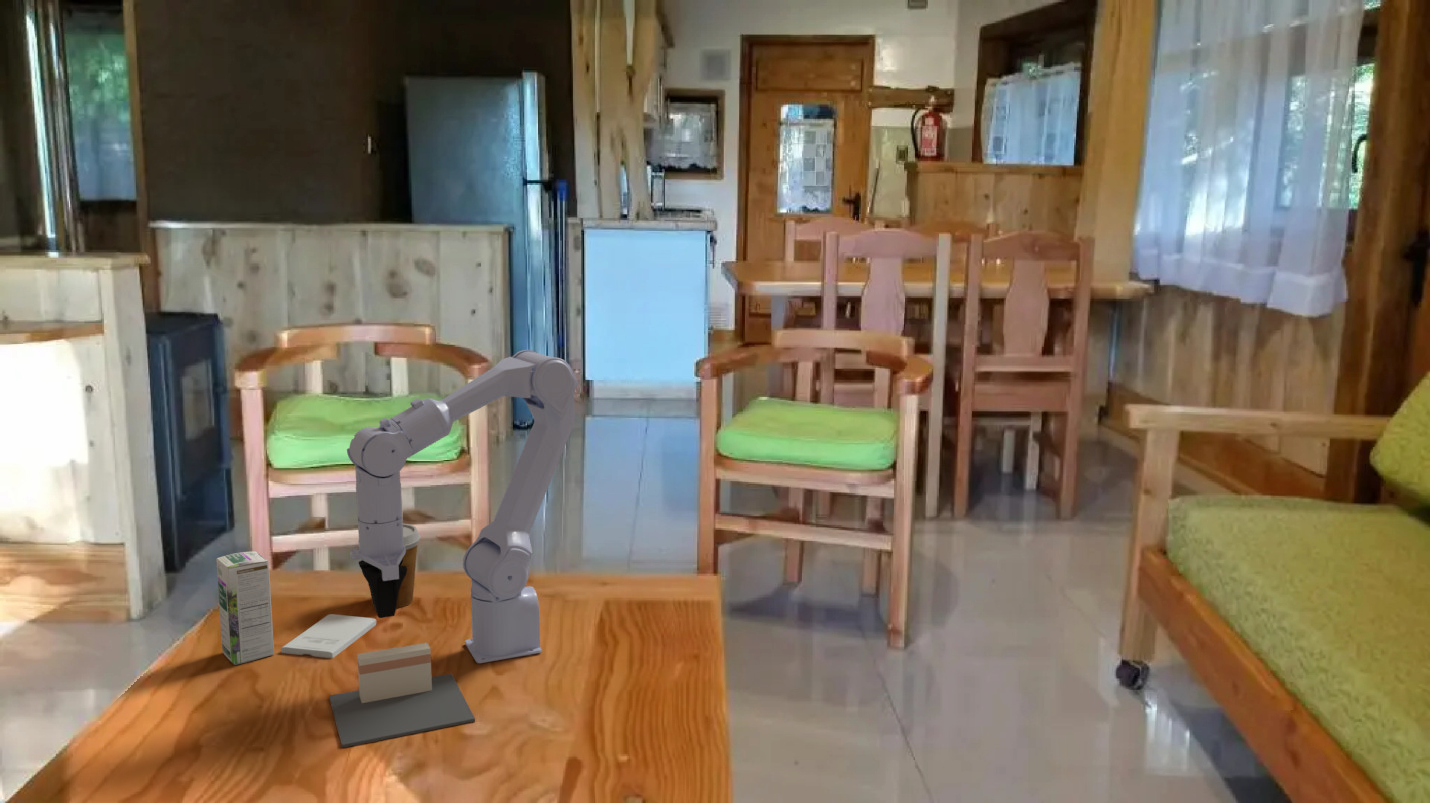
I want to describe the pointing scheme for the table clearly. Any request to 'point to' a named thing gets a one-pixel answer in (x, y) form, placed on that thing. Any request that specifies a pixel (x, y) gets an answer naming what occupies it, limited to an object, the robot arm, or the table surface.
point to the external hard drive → (329, 636)
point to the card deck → (394, 672)
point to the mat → (399, 713)
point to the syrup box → (245, 607)
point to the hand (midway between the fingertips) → (385, 613)
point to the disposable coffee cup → (408, 565)
